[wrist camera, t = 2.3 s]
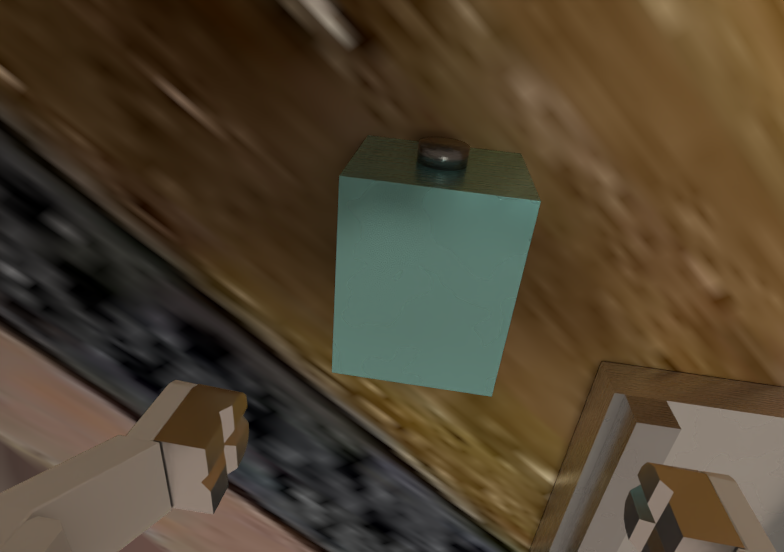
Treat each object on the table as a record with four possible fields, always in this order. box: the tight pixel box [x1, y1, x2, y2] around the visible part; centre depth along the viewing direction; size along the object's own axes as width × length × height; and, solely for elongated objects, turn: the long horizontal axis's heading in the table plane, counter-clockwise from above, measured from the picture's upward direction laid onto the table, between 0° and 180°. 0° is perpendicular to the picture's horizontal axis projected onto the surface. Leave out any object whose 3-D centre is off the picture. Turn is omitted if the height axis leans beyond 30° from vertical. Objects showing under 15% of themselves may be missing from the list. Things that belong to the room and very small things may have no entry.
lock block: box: [332, 135, 541, 397], centre depth 17 cm, size 6×8×5 cm
